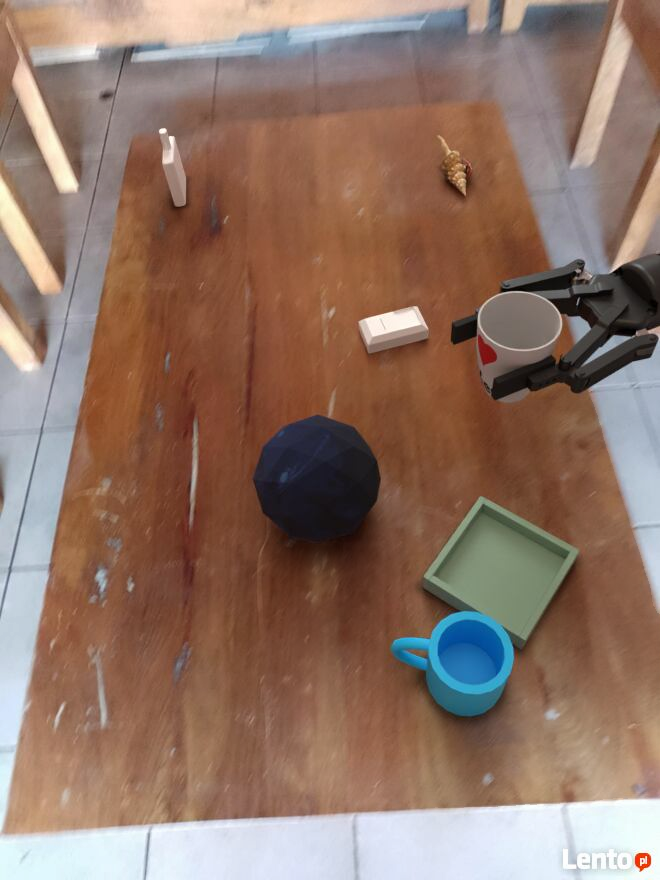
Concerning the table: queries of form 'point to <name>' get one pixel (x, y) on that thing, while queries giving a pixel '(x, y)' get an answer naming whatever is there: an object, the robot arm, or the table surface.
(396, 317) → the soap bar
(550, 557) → the tray
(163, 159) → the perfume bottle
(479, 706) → the mug
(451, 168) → the spiral snail shell
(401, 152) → the table surface
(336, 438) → the decorative orb
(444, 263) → the table surface
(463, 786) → the table surface
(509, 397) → the cup
